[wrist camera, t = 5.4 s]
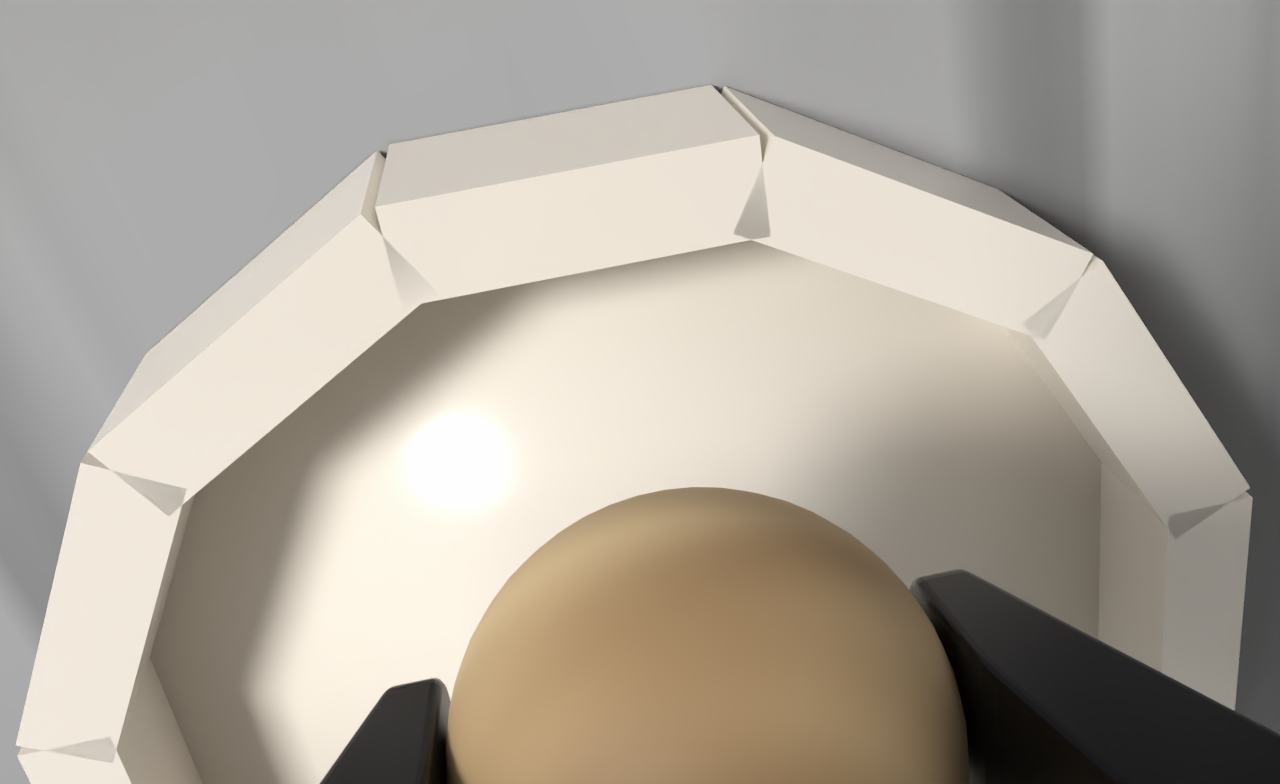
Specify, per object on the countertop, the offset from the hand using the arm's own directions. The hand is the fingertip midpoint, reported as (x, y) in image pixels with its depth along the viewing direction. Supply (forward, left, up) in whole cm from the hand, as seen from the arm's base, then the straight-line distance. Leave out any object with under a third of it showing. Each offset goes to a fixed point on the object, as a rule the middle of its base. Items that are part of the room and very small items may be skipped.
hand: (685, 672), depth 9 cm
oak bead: (0, 0, +1) cm, 1 cm away
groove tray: (-4, 0, -6) cm, 7 cm away
